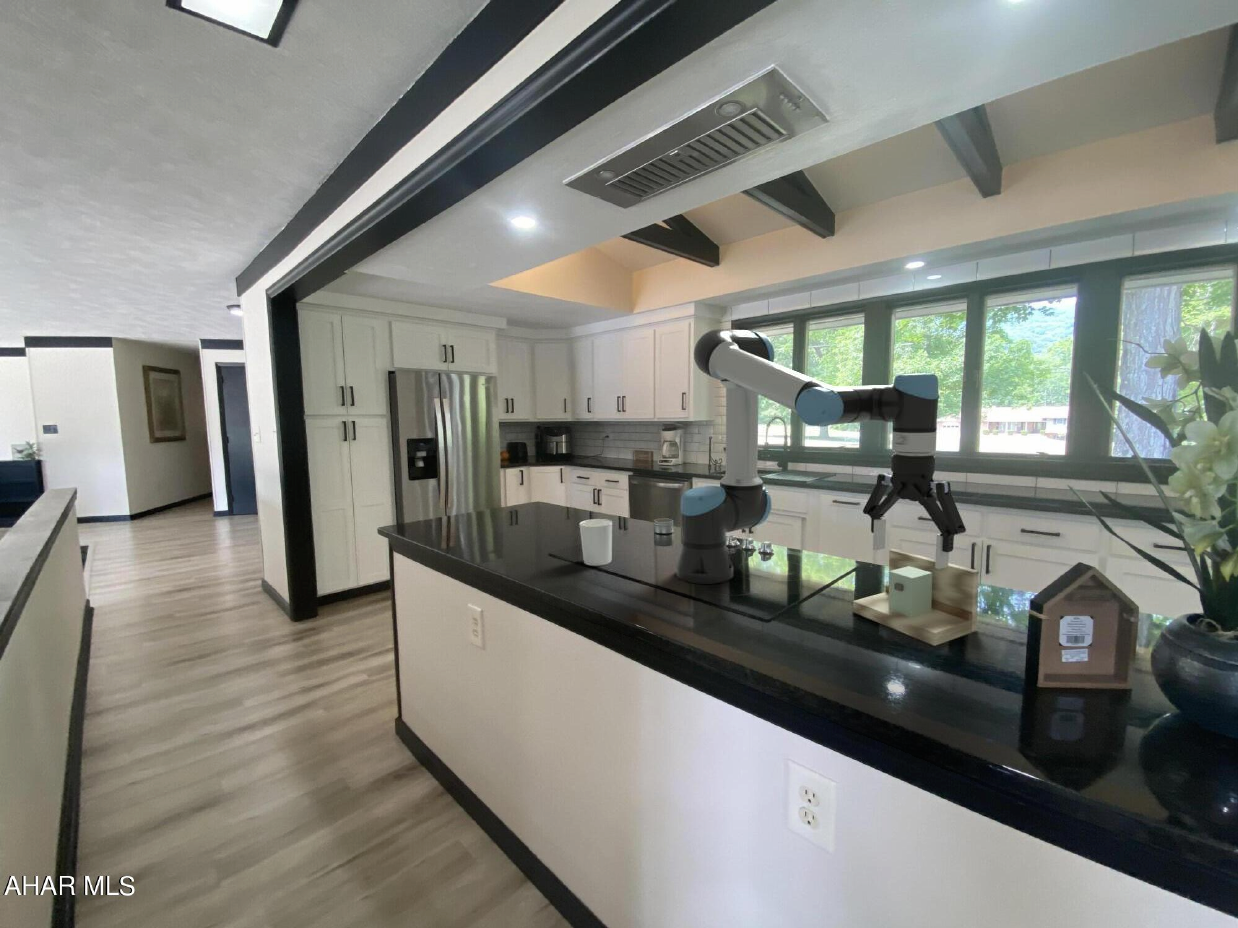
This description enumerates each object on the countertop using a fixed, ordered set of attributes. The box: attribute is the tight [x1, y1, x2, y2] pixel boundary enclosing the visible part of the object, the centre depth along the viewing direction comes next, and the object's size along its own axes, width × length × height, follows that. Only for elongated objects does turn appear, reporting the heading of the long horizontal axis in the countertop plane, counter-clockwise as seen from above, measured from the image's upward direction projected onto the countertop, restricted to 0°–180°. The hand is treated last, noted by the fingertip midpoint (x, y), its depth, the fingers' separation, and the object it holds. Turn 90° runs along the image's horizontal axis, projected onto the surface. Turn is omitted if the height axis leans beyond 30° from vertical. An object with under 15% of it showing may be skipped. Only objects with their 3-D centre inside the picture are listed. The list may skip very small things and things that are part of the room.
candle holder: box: [578, 518, 613, 567], centre depth 155 cm, size 10×10×12 cm
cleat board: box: [852, 548, 980, 647], centre depth 105 cm, size 18×12×12 cm
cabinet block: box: [888, 566, 932, 617], centre depth 104 cm, size 5×7×8 cm
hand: (908, 557), depth 104 cm, fingers open, 13 cm apart
